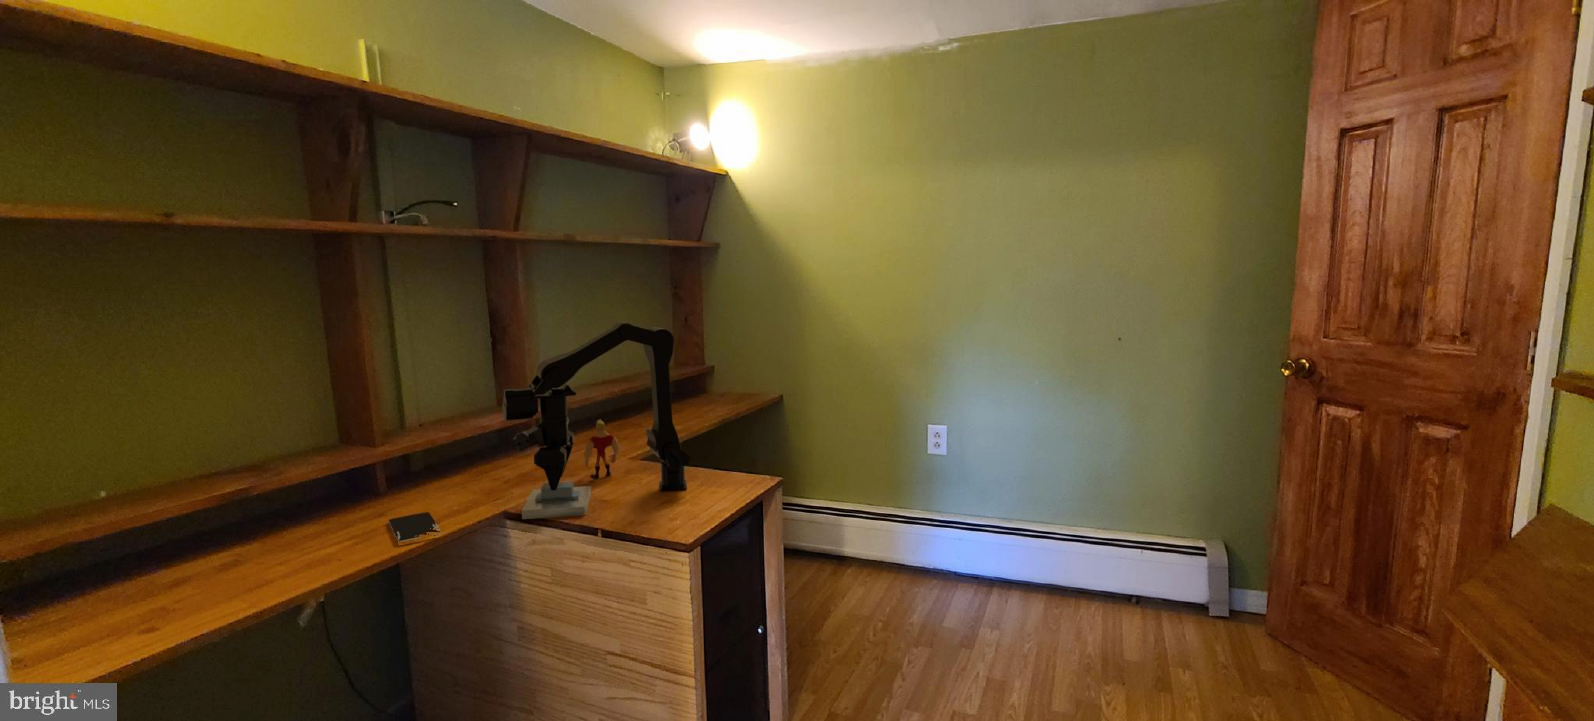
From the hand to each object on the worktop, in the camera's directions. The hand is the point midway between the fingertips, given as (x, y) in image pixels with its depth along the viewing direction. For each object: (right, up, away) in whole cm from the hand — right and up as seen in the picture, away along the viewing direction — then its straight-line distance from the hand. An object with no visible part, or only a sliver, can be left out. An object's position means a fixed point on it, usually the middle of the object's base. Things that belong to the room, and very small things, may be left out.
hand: (556, 483), depth 152 cm
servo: (0, -5, +3) cm, 6 cm away
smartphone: (-24, -8, -13) cm, 29 cm away
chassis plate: (0, -5, +1) cm, 5 cm away
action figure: (+4, -2, +23) cm, 23 cm away
